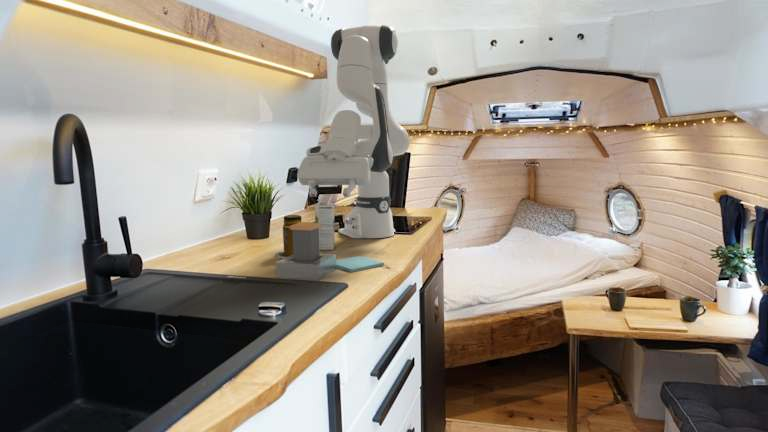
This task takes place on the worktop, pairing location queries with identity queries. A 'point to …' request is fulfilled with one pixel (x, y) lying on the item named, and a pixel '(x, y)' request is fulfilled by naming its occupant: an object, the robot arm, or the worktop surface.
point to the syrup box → (325, 225)
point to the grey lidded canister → (306, 241)
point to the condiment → (288, 235)
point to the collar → (306, 267)
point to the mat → (357, 263)
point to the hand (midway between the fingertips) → (329, 195)
